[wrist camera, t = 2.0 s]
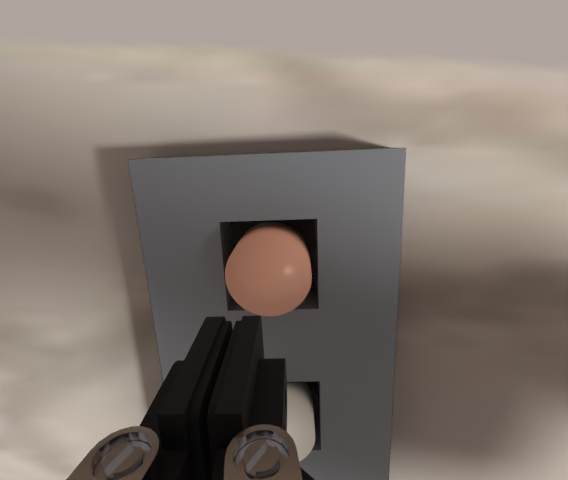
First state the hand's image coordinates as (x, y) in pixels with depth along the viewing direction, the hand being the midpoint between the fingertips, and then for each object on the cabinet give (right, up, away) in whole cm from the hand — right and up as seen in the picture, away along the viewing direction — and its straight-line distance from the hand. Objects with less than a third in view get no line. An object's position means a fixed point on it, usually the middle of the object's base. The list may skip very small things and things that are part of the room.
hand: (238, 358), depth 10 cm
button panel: (+1, -7, +14) cm, 15 cm away
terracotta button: (+1, +3, +10) cm, 10 cm away
